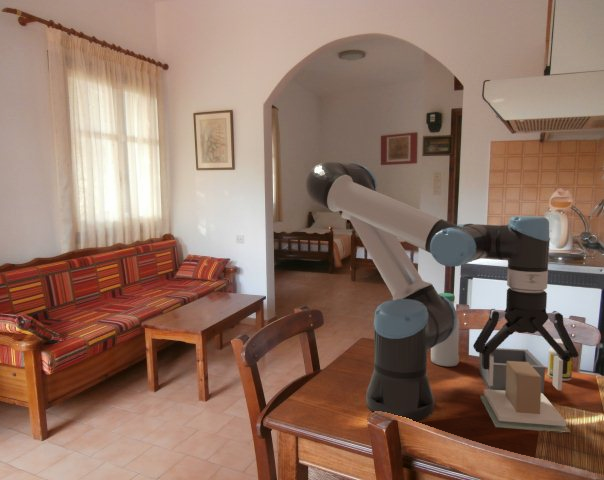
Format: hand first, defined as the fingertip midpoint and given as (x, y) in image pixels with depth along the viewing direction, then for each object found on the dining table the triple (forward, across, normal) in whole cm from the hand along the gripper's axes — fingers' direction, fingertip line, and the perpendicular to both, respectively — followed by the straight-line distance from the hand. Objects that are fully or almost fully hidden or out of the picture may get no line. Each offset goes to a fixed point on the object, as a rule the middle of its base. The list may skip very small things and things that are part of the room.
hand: (522, 385), depth 91 cm
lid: (+6, 0, 0) cm, 6 cm away
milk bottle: (+7, -12, +28) cm, 31 cm away
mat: (+7, 0, 0) cm, 7 cm away
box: (+7, +2, +16) cm, 17 cm away
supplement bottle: (+7, +16, +22) cm, 28 cm away
